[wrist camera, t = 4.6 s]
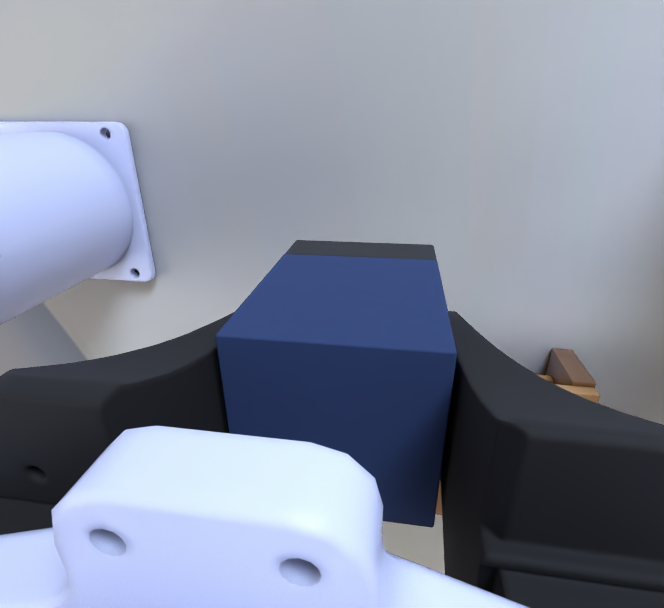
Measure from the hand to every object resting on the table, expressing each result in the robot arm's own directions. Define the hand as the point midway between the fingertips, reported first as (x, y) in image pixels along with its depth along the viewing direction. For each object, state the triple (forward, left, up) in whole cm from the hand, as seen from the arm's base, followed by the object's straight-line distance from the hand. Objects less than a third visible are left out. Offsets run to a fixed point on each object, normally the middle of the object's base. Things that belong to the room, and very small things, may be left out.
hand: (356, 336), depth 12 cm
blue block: (0, -1, -2) cm, 3 cm away
